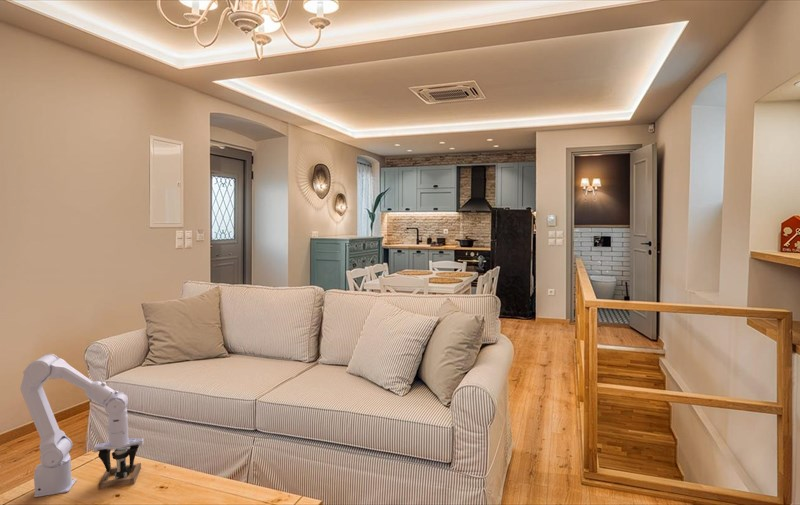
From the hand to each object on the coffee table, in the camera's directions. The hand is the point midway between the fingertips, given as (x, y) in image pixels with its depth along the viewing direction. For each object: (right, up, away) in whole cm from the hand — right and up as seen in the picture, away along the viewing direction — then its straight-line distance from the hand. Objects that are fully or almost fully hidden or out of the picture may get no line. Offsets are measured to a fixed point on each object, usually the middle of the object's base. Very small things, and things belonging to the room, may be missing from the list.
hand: (120, 468), depth 160 cm
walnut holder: (0, -3, 0) cm, 3 cm away
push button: (0, -4, 0) cm, 4 cm away
